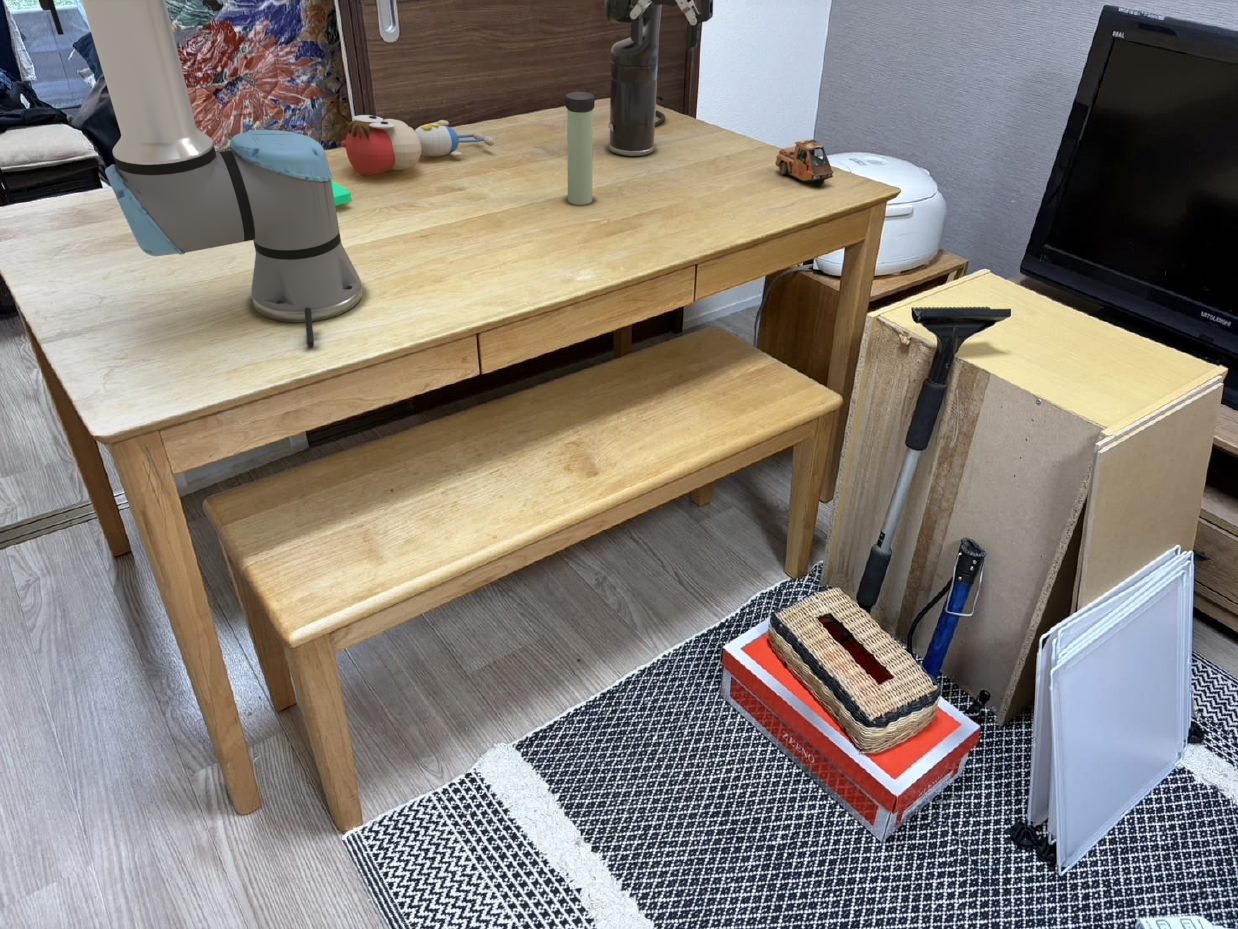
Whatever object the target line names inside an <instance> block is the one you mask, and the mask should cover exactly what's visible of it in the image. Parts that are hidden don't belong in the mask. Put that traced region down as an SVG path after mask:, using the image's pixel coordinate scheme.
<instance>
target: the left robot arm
mask: <svg viewBox="0 0 1238 929" xmlns="http://www.w3.org/2000/svg"><path fill="white" fill-rule="evenodd" d="M81 2H82V6H83V10H84V13H85V16H86V19H87V23H88V26H89V30H90V33H91V37H92V39H93V43H94V44H93V45H94V47H95V50H96V53H97V58H98V60H99V63H100V67H101V70H102V74H103V77H104V81H105V84H106V87H107V92H108V93H109V98H110V101H111V104H112V107H113V112H114V115H115V118H116V122H117V125H118V128H119V131H120V138H119V139H118V141H117V142H116V144H115V145H114V147H113V148H112V155H113V159H114V162H115V164H113V163H112V164H111V165H110V166H108V167H106V168H105V170H104V173H105V175H106V177H107V180H108V182H109V184H110V187H111V189H112V191H113V193H114V195H115V197H116V200H117V202H118V205H119V206H120V209H121V211H122V213H123V215H124V218H125V219H126V222H127V224H128V227H129V229H130V230H131V232H132V234H133V235H132V236H133V237H134V239H135V240H136V243H137V245H138V247H139V248H140V249H141V251H143V252H144V253H145V254H147V255H149V256H151V257H162V256H164V257H165V256H171V255H178V254H179V255H185V254H186V253H191V252H197V251H203V250H208V249H213V248H218V247H224V246H228V245H234V244H235V245H236V244H240V243H245V242H251V241H252V242H253V247H254V251H255V258H254V264H253V273H252V283H251V291H250V293H251V299H252V303H253V307H254V309H255V310H256V311H257V313H259V314H260V315H262V316H264V317H266V318H268V319H271V320H275V321H281V322H289V323H304V322H305V329H306V330H305V332H306V344H307V347H309V348H313V347H314V346H315V338H314V327H313V322H314V321H315V322H316V321H320V320H326V319H330V318H332V317H336V316H338V315H341V314H343V313H345V312H348V311H349V310H351V309H353V308H354V307H355V306H356V305H357V304H358V303H359V302H360V301H361V298H362V297H363V287H362V282H361V278H360V276H359V274H358V272H357V270H356V268H355V266H354V264H353V263H352V261H351V259H350V257H349V255H348V253H347V251H346V250H345V248H344V245H343V243H342V239H341V233H340V225H339V220H338V214H337V207H336V206H335V201H334V195H333V188H332V182H331V181H333V174H332V172H331V169H330V166H329V161H328V158H327V154H326V151H325V149H324V147H323V145H322V144H321V143H320V142H318V141H317V140H315V139H314V138H312V137H310V136H308V135H304V134H301V133H297V132H292V131H287V130H278V129H277V130H276V129H254V130H247V131H243V132H241V133H239V132H238V133H237V134H235V135H233V137H231V139H230V144H229V147H230V149H228V150H220V151H216V148H215V144H214V140H213V138H211V137H210V136H209V135H207V134H206V133H204V132H203V131H201V130H200V129H199V128H198V127H197V124H196V121H195V115H194V112H193V108H192V104H191V99H190V96H189V91H188V87H187V83H186V79H185V76H184V72H183V67H182V62H181V59H180V55H179V51H178V50H179V49H178V48H177V41H176V39H175V35H174V30H173V26H172V22H171V17H170V15H169V14H170V13H169V10H168V6H167V2H166V0H81ZM38 4H39V6H40V8H41V9H42V11H50V14H51V18H52V20H53V23H54V26H55V29H56V30H55V31H56V32H57V35H58V36H61V35H65V34H64V30H63V27H62V24H61V20H60V18H59V14H58V12H57V8H56V5H55V2H54V0H38Z"/></svg>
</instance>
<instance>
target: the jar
mask: <svg viewBox="0 0 1238 929" xmlns="http://www.w3.org/2000/svg"><path fill="white" fill-rule="evenodd" d="M566 114H567V115H566V121H567V122H566V125H567V126H566V127H567V130H566V131H567V133H566V136H567V138H566V139H567V140H566V142H567V148H566V149H567V201H568V203H570V204H572V205H577V206H584V205H589V204H591V203H592V202H593V149H594V148H593V147H594V146H593V145H594V144H593V139H594V138H593V134H594V133H593V132H594V128H593V127H594V109H592V110H590V111H584V112H578V111H571V110H568V109H567V108H566Z"/></svg>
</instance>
